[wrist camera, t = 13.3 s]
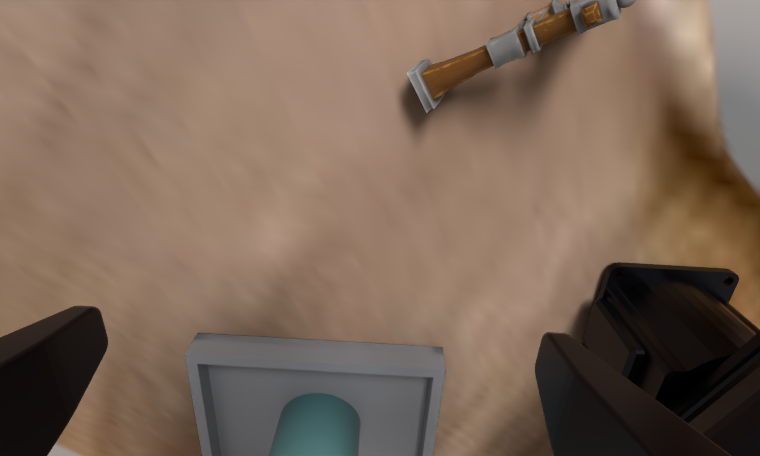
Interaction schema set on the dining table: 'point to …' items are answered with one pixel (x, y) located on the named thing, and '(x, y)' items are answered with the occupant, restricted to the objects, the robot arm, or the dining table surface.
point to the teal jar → (317, 427)
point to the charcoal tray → (313, 390)
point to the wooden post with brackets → (512, 45)
